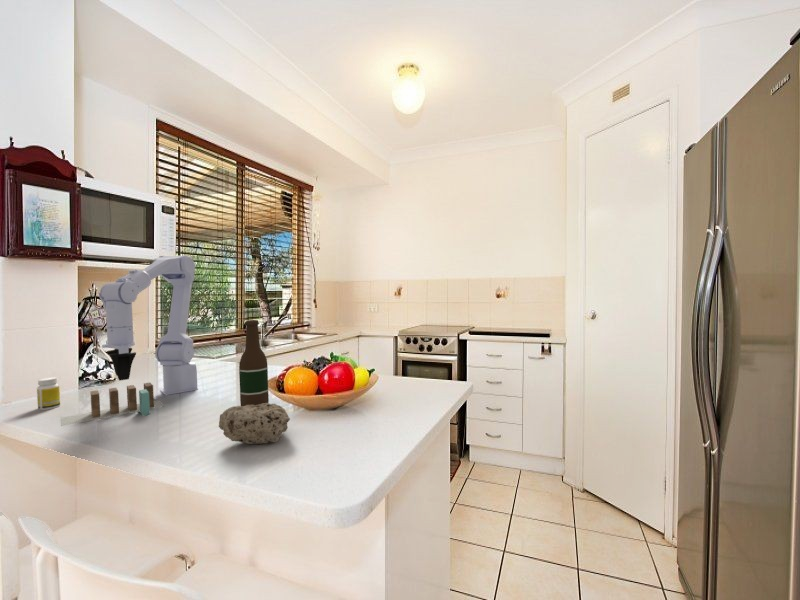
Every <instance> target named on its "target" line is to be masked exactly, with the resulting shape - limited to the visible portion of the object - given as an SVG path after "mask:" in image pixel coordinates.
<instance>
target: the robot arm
mask: <svg viewBox="0 0 800 600" xmlns="http://www.w3.org/2000/svg"><path fill="white" fill-rule="evenodd" d="M195 271H196V263H195V262H194V260H193V258H192V257H191V255H189V254H184V255H159V256H158V257H155V258H154V260H153V262H152V263H150V264H149V265H147V266H146V267H145V268H144V269H142V270H141V269H130V270H129V271H128V272H129V273H127V274H126V275H124V276H119V277H118V278H117V280H115V281H114V282H113V281H112V282H107V283H105V284H104V285H103V286H102V287H101V288H100V292H99V293H98V296H99V297H98V298H99V299H100V301H101V303H102V304H103V309H104V310H105V316H106V317H105V318H106V319H105V320H106V337H107V338H106V339H107V340H106V341H107V344H102V345H101V347H102V348H103V349H110V350H106V353H107V354H108V355H109V358H110V359H111V361H112V362H111V363H112V365H113V369H114V373H115V376H116V377H117V378H118V379H117V380H118V381H125V380H129V379H130V376H131V368H132V365H133V362H134V359H135V358H136V355H137V352H135V351H133V348H132V347H133V346H135V341H134V326H133V325H134V324H133V323H134V322H133V321H134V320H133V303H134V302H136V300H137V298H138V295H139V294H140V293H142V292H143V291H144V290H146V289H147V288H149V287H150V285H151V284H152V280H154V279H156V278H158V277H159V276H161V277H162V278H163V279H164V280H165V281H166V282H167V283H170V284H171V285H172V295H171V296H172V297H171V302H170V312H169V318H168V325H167V333H166V334H164V335H163V336H162V337H161V338H159V339H158V340H159V341H158V345H157V347H156V349H155V351H154V352H155V353H154V354H155V358H156V360H157V362H158V363H159V364H160V365H159V366H162V383H163V384H162V385H163V388H161V389H160V390H159V391H160V392H161V393H162V394H163V395H164V396H170V395H174V394H180V393H186V392H192V391H197V390H199V388H198V371H197V370H198V369H197V365H196V363H195V361H192V360H193V358H194V356H195V349H194V339H192V338H191V337H190V336H189V335H188V334H187V327H188V320H189V318H188V317H189V312H190V303H191V302H190V301H191V295H192V294H191V293H192V284H193V282H194V280H195ZM132 351H133V352H132Z"/></svg>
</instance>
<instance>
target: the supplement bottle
mask: <svg viewBox="0 0 800 600" xmlns="http://www.w3.org/2000/svg"><path fill="white" fill-rule="evenodd" d="M37 382H38V383H37V384H38V386H37V387H36V397H37V398H36V399H37V410H39V411H45V410H52V409H56V408H59V407H61V396H60V395H61V391H60V385H59V384H58V378H57V377H55V376H54V377H51V376H50V377H45V378H44V377H43V378H41V379H38V380H37Z"/></svg>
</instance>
